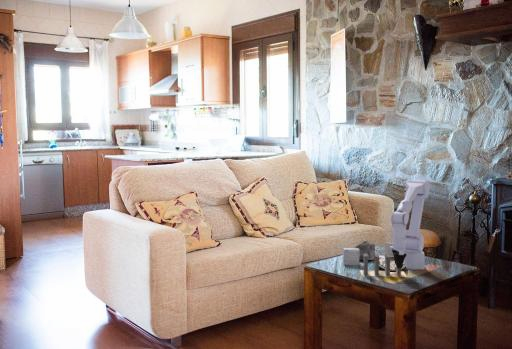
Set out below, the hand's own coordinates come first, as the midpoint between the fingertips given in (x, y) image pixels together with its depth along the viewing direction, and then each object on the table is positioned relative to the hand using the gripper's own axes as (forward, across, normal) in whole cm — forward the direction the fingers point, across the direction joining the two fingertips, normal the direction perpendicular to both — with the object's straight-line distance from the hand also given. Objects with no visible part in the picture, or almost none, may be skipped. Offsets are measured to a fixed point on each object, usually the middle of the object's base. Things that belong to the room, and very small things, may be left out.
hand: (398, 266), depth 244 cm
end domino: (+4, 0, -15) cm, 16 cm away
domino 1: (+4, 0, -10) cm, 11 cm away
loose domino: (+3, 0, 0) cm, 3 cm away
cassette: (+5, -36, +4) cm, 37 cm away
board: (+5, -2, -7) cm, 9 cm away
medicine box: (+5, -17, -20) cm, 27 cm away
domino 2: (+4, 0, -5) cm, 6 cm away
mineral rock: (+5, -31, -14) cm, 34 cm away
